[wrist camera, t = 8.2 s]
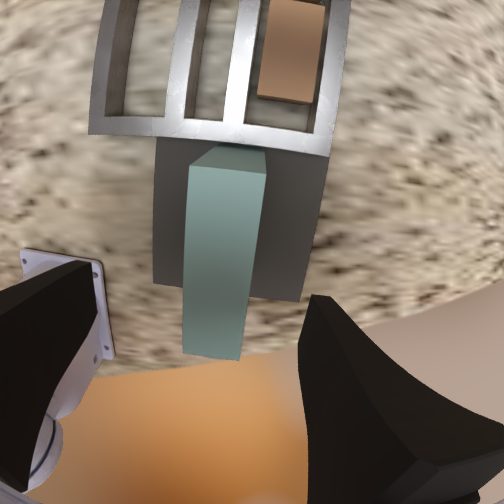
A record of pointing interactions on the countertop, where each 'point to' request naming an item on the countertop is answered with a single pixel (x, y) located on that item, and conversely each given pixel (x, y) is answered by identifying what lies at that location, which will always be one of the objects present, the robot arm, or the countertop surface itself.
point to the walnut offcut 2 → (310, 1)
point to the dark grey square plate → (271, 219)
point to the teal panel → (220, 247)
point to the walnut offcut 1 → (291, 52)
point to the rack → (187, 72)
